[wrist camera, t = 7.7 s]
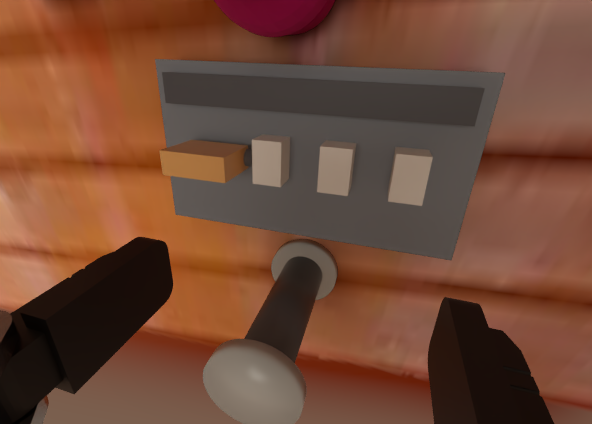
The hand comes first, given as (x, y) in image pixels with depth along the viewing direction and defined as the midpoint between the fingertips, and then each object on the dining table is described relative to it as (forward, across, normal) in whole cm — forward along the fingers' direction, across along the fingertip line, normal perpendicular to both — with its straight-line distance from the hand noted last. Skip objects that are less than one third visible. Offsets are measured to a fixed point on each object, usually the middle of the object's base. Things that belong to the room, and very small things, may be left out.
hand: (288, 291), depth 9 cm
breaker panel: (+17, +3, 0) cm, 17 cm away
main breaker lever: (+14, +9, 0) cm, 17 cm away
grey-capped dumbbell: (+17, +3, +11) cm, 20 cm away
